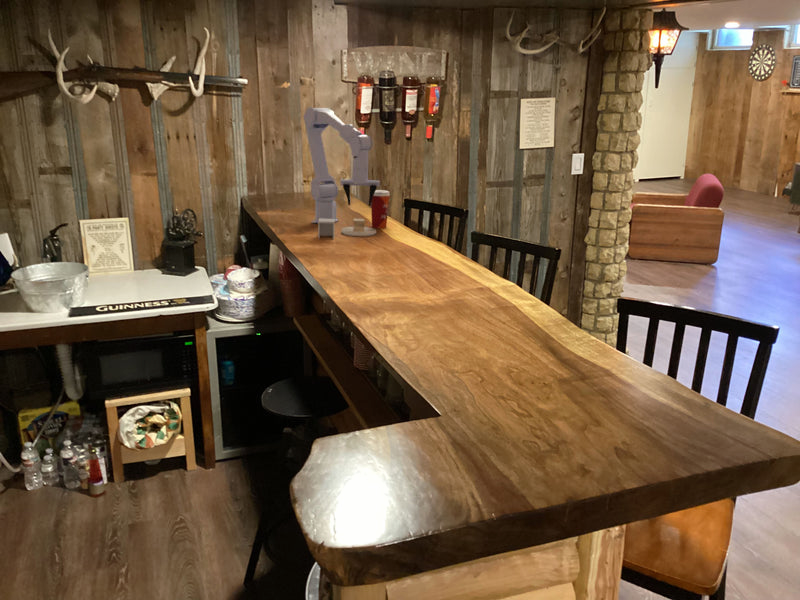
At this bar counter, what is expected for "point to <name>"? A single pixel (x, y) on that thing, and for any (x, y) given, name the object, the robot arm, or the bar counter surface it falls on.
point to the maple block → (358, 225)
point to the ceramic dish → (358, 232)
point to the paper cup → (380, 208)
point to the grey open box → (326, 227)
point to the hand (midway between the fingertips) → (359, 205)
